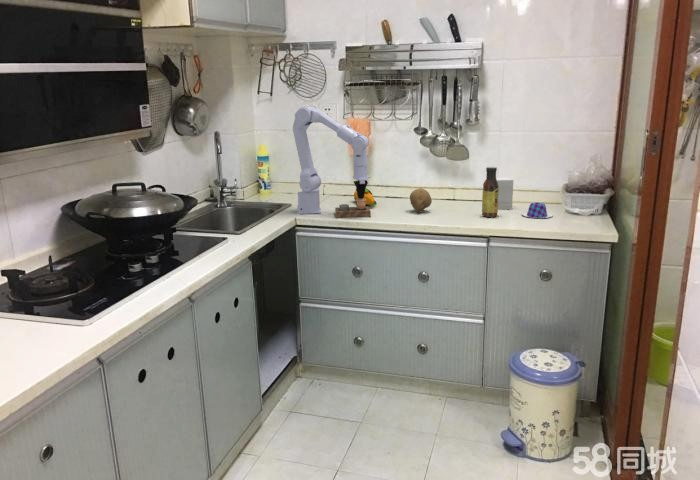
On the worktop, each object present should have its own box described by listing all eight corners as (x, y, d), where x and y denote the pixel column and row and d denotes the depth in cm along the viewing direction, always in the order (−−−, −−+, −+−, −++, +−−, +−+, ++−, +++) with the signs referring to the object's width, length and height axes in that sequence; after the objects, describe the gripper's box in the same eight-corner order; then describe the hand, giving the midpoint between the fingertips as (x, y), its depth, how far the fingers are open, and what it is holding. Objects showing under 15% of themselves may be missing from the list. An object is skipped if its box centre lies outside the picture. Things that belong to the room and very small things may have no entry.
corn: (364, 183, 273) (381, 191, 255) (366, 199, 276) (382, 208, 257) (349, 186, 271) (365, 193, 253) (351, 202, 273) (366, 210, 255)
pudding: (558, 218, 235) (559, 205, 234) (532, 220, 232) (533, 207, 231) (541, 212, 246) (542, 199, 245) (515, 214, 243) (516, 201, 242)
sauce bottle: (497, 218, 236) (500, 168, 231) (481, 217, 237) (483, 168, 232) (497, 214, 242) (499, 166, 237) (481, 214, 243) (483, 166, 238)
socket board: (336, 218, 241) (336, 212, 240) (335, 213, 249) (335, 207, 249) (370, 217, 242) (370, 211, 241) (368, 212, 250) (368, 206, 250)
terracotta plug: (356, 209, 243) (356, 200, 242) (355, 207, 247) (355, 198, 246) (366, 209, 243) (366, 200, 242) (365, 207, 247) (365, 198, 246)
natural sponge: (426, 208, 255) (427, 186, 252) (434, 213, 246) (435, 189, 244) (406, 210, 252) (407, 187, 250) (414, 214, 244) (414, 191, 241)
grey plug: (339, 216, 243) (339, 206, 242) (339, 213, 247) (339, 204, 246) (349, 215, 243) (349, 206, 242) (348, 213, 247) (348, 204, 246)
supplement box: (512, 209, 251) (514, 179, 248) (494, 209, 251) (496, 180, 248) (508, 205, 258) (509, 177, 255) (491, 205, 258) (492, 177, 255)
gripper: (372, 167, 233) (372, 201, 237) (368, 162, 247) (368, 194, 251) (354, 168, 233) (355, 202, 237) (351, 163, 247) (352, 195, 250)
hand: (360, 198), depth 244 cm, fingers closed
